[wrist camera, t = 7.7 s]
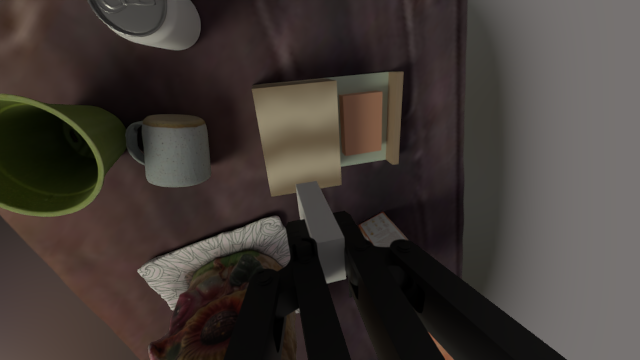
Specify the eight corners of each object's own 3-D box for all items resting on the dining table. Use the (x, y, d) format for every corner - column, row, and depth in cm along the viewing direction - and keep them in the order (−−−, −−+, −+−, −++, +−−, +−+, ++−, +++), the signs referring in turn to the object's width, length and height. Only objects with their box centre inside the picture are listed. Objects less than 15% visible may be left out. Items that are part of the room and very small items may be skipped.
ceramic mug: (211, 113, 35) (198, 124, 29) (215, 168, 39) (205, 190, 32) (124, 108, 33) (87, 119, 26) (136, 167, 36) (107, 191, 29)
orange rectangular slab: (382, 91, 37) (376, 90, 39) (343, 96, 36) (339, 94, 38) (381, 150, 41) (376, 146, 43) (345, 156, 40) (341, 152, 42)
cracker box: (403, 256, 55) (478, 353, 37) (379, 269, 55) (441, 373, 37) (384, 209, 49) (462, 297, 30) (356, 223, 49) (418, 321, 30)
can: (131, -10, 29) (55, -55, 18) (191, -16, 30) (153, -62, 19) (155, 54, 31) (102, 48, 21) (209, 47, 32) (184, 37, 22)
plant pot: (89, 64, 30) (6, 63, 20) (167, 143, 36) (132, 173, 26) (13, 121, 31) (-104, 147, 21) (101, 190, 36) (42, 237, 26)
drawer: (323, 78, 37) (328, 78, 34) (393, 71, 39) (403, 71, 36) (329, 167, 43) (333, 174, 40) (389, 157, 45) (398, 163, 42)
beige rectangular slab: (253, 84, 35) (252, 88, 29) (323, 78, 37) (336, 80, 31) (269, 176, 41) (271, 196, 35) (329, 167, 43) (341, 184, 36)
